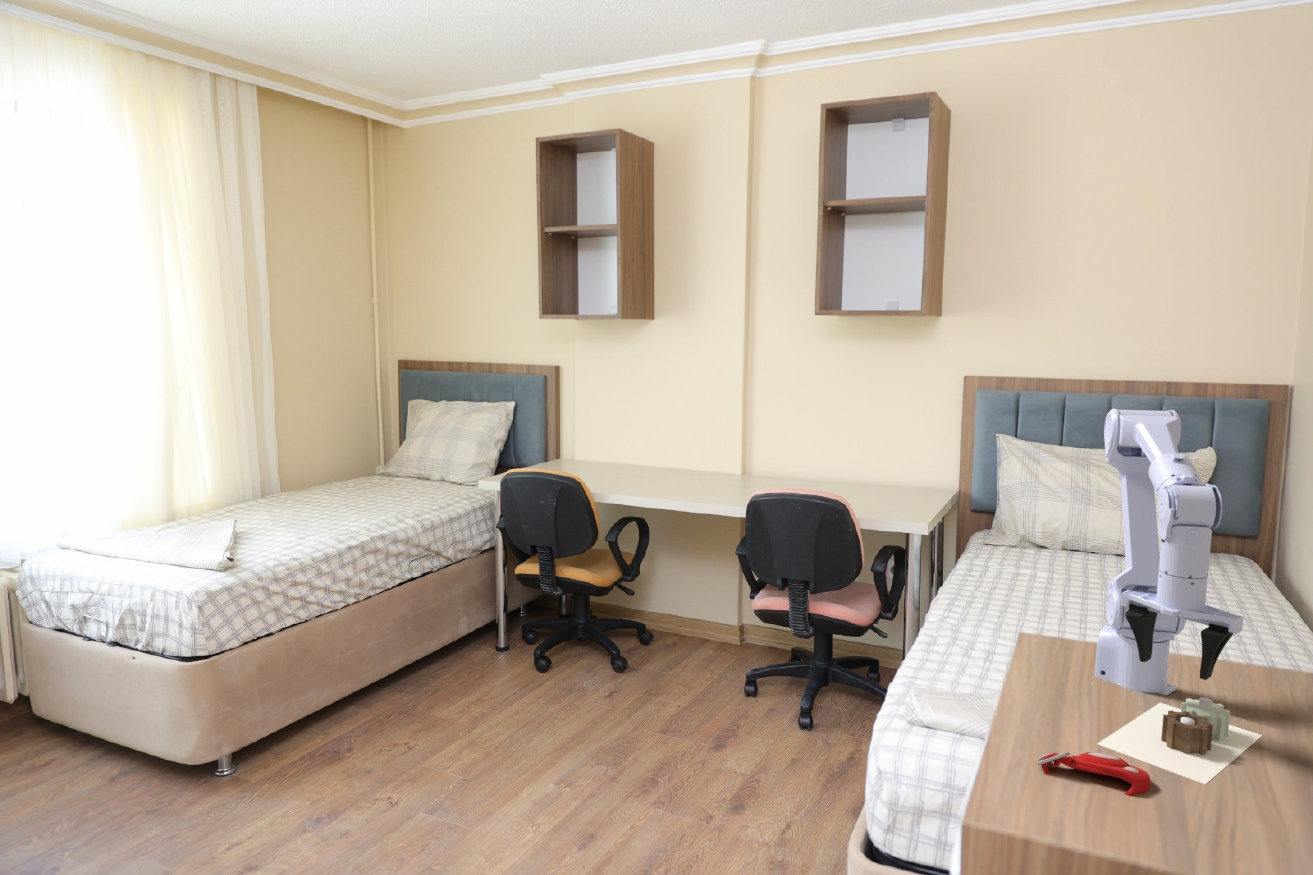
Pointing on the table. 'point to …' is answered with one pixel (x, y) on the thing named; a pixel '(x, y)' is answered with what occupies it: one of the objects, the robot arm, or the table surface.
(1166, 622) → the robot arm
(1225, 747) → the gear board
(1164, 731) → the walnut gear
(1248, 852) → the table surface
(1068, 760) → the red peeler
